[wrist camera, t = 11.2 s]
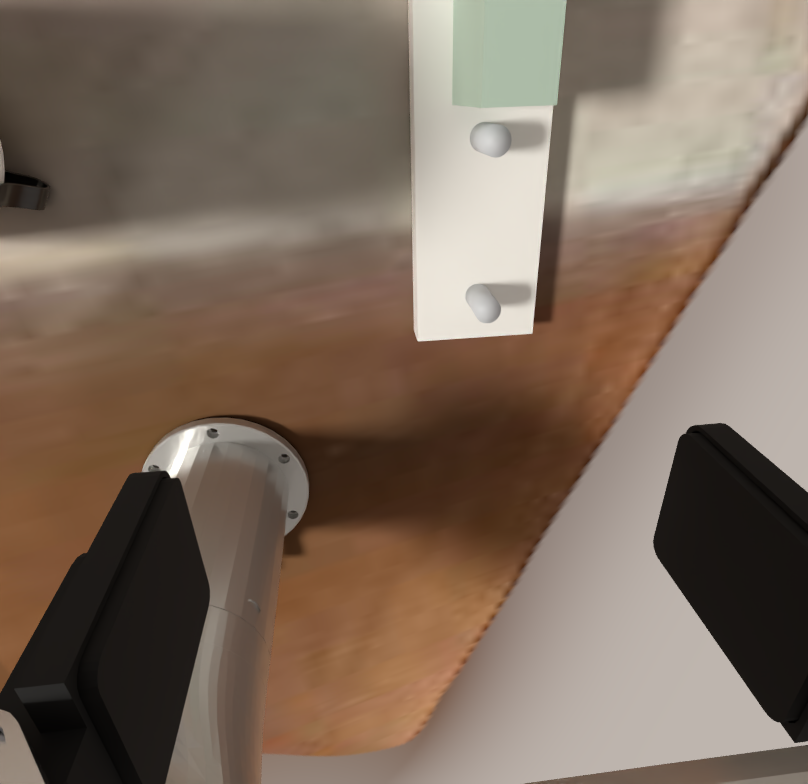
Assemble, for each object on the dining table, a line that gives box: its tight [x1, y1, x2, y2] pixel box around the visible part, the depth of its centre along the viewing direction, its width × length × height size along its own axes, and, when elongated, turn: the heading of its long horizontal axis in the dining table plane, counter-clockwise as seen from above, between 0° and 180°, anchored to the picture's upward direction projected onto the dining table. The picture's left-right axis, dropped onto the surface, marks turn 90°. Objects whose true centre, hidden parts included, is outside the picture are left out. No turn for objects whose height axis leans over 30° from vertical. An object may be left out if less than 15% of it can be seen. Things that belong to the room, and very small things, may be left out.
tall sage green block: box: [452, 0, 567, 108], centre depth 27 cm, size 6×4×7 cm, turn 2°
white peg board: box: [408, 0, 553, 341], centre depth 31 cm, size 25×8×5 cm, turn 1°
